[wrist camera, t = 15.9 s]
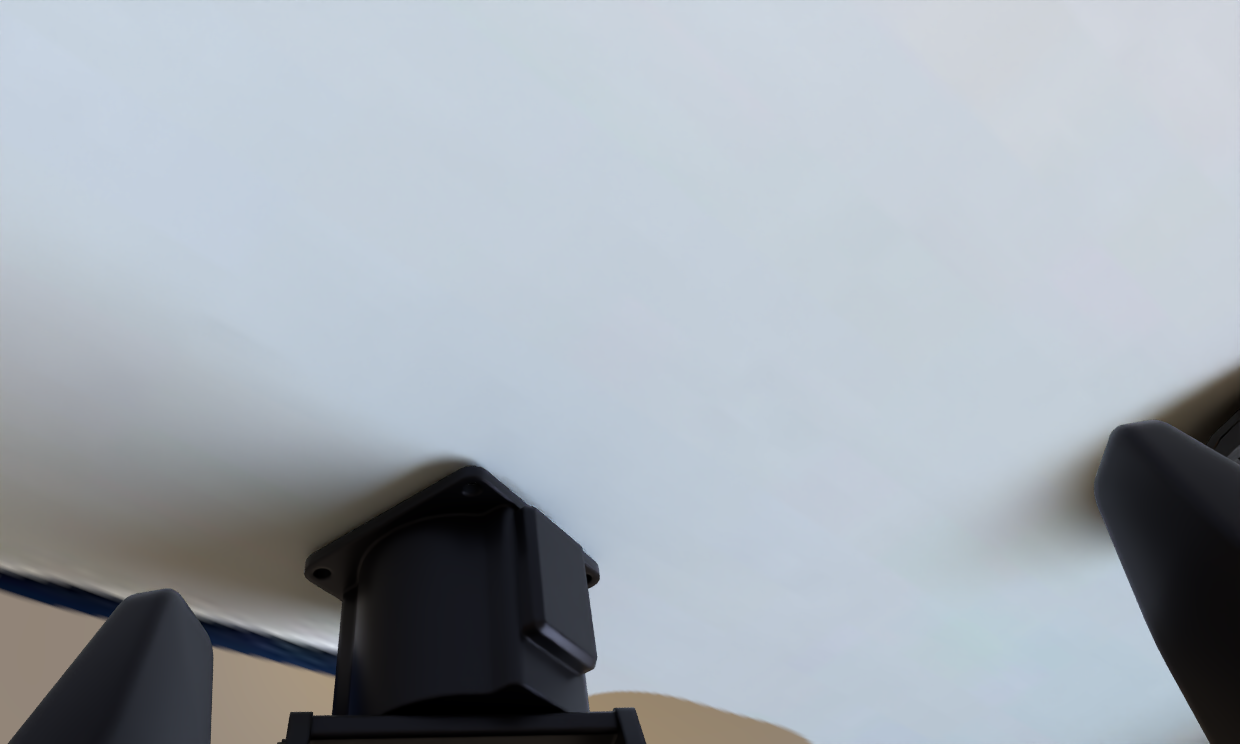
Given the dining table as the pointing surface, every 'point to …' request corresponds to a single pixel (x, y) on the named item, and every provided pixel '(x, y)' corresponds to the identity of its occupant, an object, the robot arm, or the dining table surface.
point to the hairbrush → (1228, 439)
